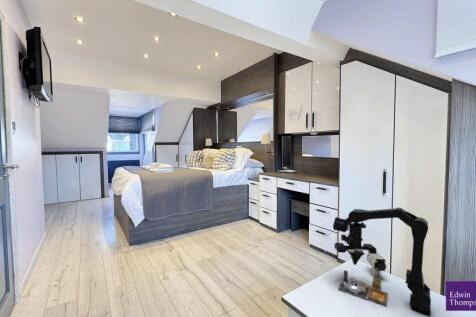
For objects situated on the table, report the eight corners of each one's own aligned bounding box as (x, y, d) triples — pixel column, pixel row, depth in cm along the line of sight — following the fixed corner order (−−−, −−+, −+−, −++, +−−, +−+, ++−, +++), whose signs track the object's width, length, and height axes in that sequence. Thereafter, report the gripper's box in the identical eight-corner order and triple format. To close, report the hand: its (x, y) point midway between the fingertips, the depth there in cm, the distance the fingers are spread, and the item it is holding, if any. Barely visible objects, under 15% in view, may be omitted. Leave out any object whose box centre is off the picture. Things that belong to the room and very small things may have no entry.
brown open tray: (387, 296, 107) (387, 292, 107) (386, 306, 99) (386, 303, 99) (369, 290, 111) (369, 286, 111) (367, 299, 104) (367, 296, 104)
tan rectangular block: (381, 286, 114) (381, 279, 114) (380, 291, 110) (380, 283, 110) (373, 284, 116) (373, 276, 116) (371, 288, 112) (372, 281, 112)
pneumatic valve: (374, 269, 130) (375, 249, 130) (386, 281, 119) (387, 259, 118) (364, 268, 131) (365, 248, 130) (375, 280, 119) (376, 258, 119)
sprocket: (344, 276, 121) (344, 265, 120) (370, 285, 113) (370, 273, 113) (337, 287, 111) (337, 274, 111) (365, 298, 104) (365, 284, 103)
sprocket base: (369, 287, 113) (369, 285, 113) (365, 299, 104) (365, 298, 104) (343, 278, 121) (343, 277, 121) (338, 289, 111) (338, 288, 111)
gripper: (366, 229, 122) (365, 257, 122) (331, 228, 123) (330, 256, 124) (377, 237, 110) (376, 268, 111) (338, 236, 112) (337, 266, 113)
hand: (354, 264), depth 115 cm, fingers closed
